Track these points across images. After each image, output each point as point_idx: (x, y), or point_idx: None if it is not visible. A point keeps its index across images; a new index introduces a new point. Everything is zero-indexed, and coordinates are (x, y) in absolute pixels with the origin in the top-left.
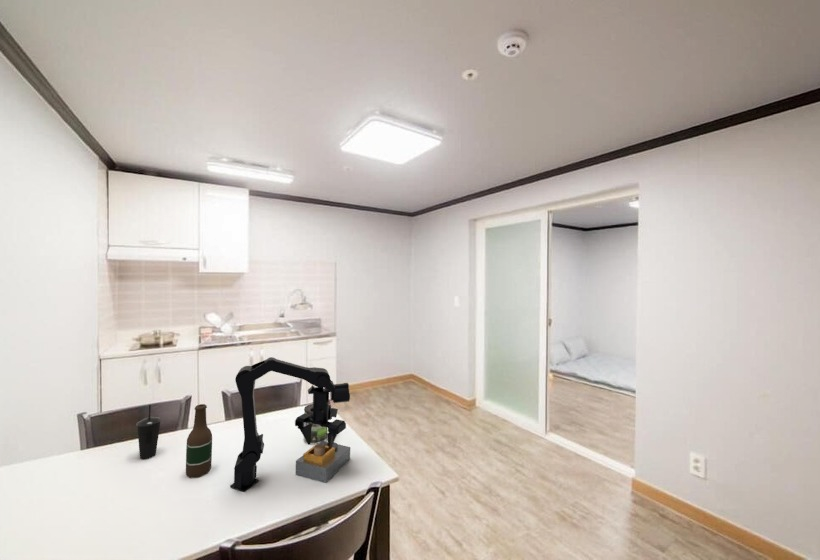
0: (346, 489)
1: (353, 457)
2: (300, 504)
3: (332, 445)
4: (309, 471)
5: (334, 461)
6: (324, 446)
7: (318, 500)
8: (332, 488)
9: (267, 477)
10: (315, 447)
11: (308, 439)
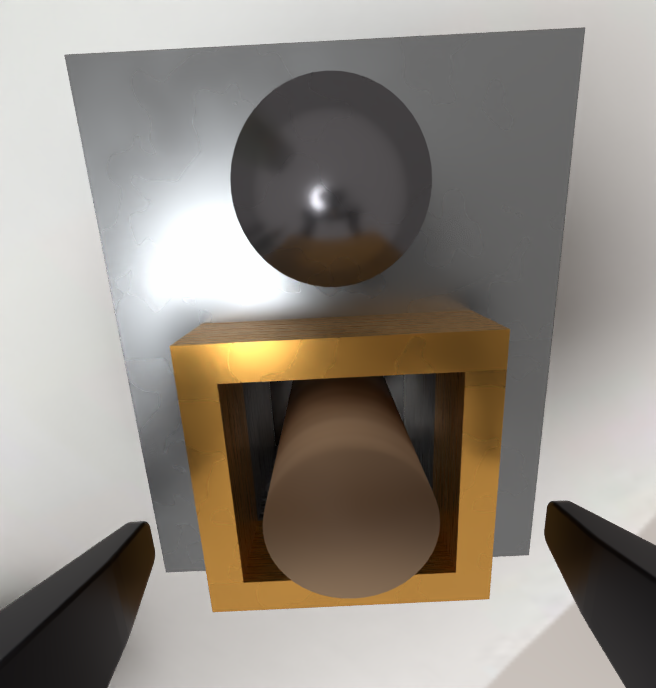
0: (647, 468)
1: (508, 30)
2: (447, 660)
3: (618, 532)
4: None
5: (540, 427)
6: (419, 494)
7: (524, 605)
8: (549, 497)
9: None
10: (305, 566)
11: (106, 661)
